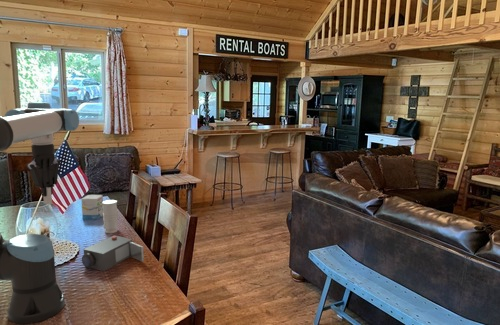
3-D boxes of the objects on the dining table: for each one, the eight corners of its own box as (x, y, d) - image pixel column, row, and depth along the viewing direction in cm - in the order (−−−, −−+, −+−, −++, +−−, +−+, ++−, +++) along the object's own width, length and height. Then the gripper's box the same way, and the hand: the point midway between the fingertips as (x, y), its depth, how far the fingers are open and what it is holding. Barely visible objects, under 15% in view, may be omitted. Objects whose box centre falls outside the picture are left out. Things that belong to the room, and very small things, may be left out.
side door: (144, 260, 147) (143, 246, 146) (141, 261, 146) (140, 247, 145) (131, 255, 153) (130, 241, 151) (129, 256, 152) (128, 242, 151)
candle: (120, 231, 180) (118, 202, 178) (105, 234, 176) (103, 204, 174) (116, 227, 186) (115, 199, 183) (102, 230, 182) (100, 201, 179)
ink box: (97, 219, 197) (96, 198, 195) (82, 219, 198) (80, 198, 195) (104, 214, 206) (103, 194, 204) (89, 214, 206) (87, 194, 204)
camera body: (99, 273, 137) (98, 254, 136) (80, 268, 141) (78, 249, 140) (133, 255, 154) (132, 237, 152) (115, 250, 158) (114, 233, 157)
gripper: (33, 146, 131) (39, 209, 135) (64, 142, 142) (69, 200, 147) (19, 144, 134) (25, 206, 138) (51, 141, 145) (56, 198, 150)
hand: (48, 203), depth 142 cm, fingers closed
